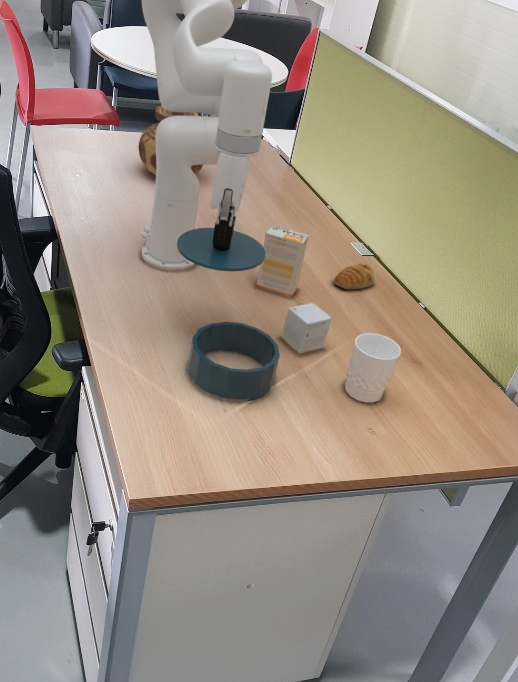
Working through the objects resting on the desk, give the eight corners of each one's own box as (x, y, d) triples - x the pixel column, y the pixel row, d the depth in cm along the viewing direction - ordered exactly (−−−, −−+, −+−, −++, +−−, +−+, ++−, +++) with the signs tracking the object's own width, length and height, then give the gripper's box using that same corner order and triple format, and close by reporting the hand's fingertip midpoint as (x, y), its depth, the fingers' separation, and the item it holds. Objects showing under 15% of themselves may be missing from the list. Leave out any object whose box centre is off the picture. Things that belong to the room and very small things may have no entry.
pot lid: (158, 246, 136) (161, 212, 132) (217, 226, 146) (222, 193, 142) (223, 283, 127) (229, 248, 123) (282, 258, 137) (289, 225, 133)
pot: (170, 369, 133) (174, 340, 129) (227, 341, 142) (232, 313, 139) (234, 413, 125) (240, 383, 121) (289, 380, 134) (296, 351, 131)
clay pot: (215, 181, 199) (195, 109, 188) (148, 199, 202) (125, 129, 191) (213, 155, 214) (194, 87, 203) (151, 172, 218) (129, 106, 206)
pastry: (348, 295, 162) (353, 280, 160) (325, 281, 166) (329, 266, 164) (376, 285, 168) (380, 270, 165) (353, 272, 172) (357, 257, 170)
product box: (298, 356, 141) (306, 323, 137) (279, 339, 145) (287, 307, 141) (323, 349, 144) (332, 317, 140) (304, 333, 148) (312, 301, 144)
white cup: (387, 385, 136) (402, 340, 131) (382, 410, 130) (398, 364, 124) (344, 373, 138) (358, 328, 132) (338, 397, 132) (352, 351, 126)
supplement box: (297, 289, 162) (310, 234, 155) (290, 298, 158) (303, 243, 151) (262, 278, 164) (273, 223, 157) (254, 287, 161) (265, 231, 153)
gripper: (221, 122, 131) (208, 218, 142) (209, 152, 118) (195, 256, 128) (264, 129, 131) (247, 225, 141) (256, 160, 117) (238, 264, 128)
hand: (222, 239), depth 135 cm, fingers closed on pot lid, 3 cm apart
